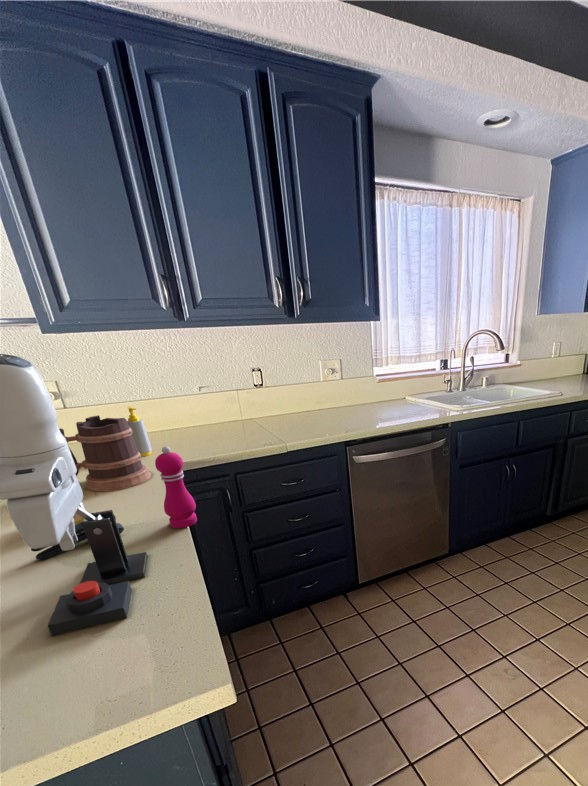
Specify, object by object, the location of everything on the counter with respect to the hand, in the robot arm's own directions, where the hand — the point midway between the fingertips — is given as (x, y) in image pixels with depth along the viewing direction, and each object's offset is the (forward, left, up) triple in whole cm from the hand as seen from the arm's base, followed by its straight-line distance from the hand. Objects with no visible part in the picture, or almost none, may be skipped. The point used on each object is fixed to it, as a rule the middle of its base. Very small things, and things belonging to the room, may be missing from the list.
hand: (70, 546), depth 71 cm
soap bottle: (+1, +104, -14) cm, 105 cm away
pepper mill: (+15, +32, -14) cm, 38 cm away
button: (0, 0, -10) cm, 10 cm away
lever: (-1, +13, 0) cm, 13 cm away
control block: (0, 0, -13) cm, 13 cm away
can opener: (-7, +30, -14) cm, 34 cm away
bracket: (+2, +13, -13) cm, 19 cm away
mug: (-6, +75, -14) cm, 77 cm away
